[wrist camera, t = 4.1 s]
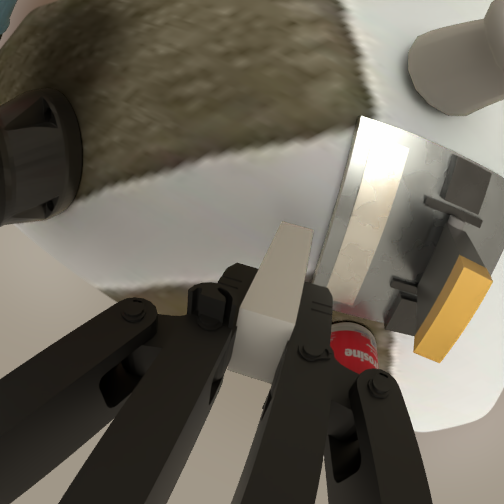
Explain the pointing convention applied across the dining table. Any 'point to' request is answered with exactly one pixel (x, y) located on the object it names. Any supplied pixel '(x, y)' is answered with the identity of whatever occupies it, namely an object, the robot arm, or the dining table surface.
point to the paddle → (449, 292)
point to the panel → (402, 221)
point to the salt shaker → (461, 64)
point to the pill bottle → (354, 346)
